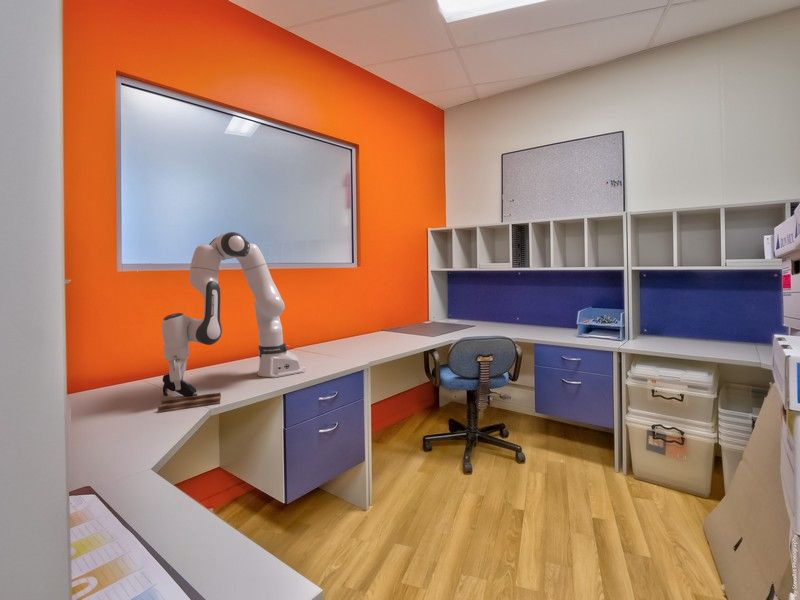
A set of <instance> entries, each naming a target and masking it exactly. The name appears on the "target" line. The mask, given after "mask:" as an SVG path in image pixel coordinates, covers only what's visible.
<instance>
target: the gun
mask: <svg viewBox="0 0 800 600" xmlns="http://www.w3.org/2000/svg"><path fill="white" fill-rule="evenodd" d="M162 382H163V387H162V394H163V396H164V397H168V396H169V394H168V390H169V391H171V392H176V393H178V394H180V395H181V396H182V397H183V398H184V397H191V396H198V393H197V389H196V387H195V386H193V385H192V384H190V383H189V382H188V381H186V380H184V379H183V380H182V379H181V381H180V384H181V389H180V390H176V389H175V384H174V382H170V375H169V373H167V374H164V375H163V377H162Z"/></svg>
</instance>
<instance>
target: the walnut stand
mask: <svg viewBox="0 0 800 600" xmlns="http://www.w3.org/2000/svg"><path fill="white" fill-rule="evenodd" d="M221 398H222V395H221V392H214V393H208V394H200V395H198V394H197V396H191V397H184V396H183V397H178V398H171V399H164V400H161V401H160V405H159V406H157V413H158V414H159V413H166V412H172V411H173V412H174V411H180V410H186V409H192V408H193V409H194V408H198V407H199V408H201V407H208V406H214V405H220V404H221V400H222V399H221Z"/></svg>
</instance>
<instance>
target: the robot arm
mask: <svg viewBox="0 0 800 600" xmlns="http://www.w3.org/2000/svg"><path fill="white" fill-rule="evenodd" d="M234 258H235V259H236V261H238V263H239V264H240V267H241V270H242V273H243V275H244V278H245V280H246V282H247V285H248V288H249V289H250V291H251V293H252V295H253V297H254V303H253V305H254V311H255V318H256V324H257V329H258V330H257V331H258V356H259V364H258V371H257V375H258V376H259V377H262V378H263V377H264V378H268V377H269V378H280V377H285V376H292V375H296V374H302V373H304V372H306V367H305V365H303V364H302V363H301V361H300V357H298V355H296V354H294V353H293V352H291V351H290V350H289V349H290V345H289V344H286V343H285V342H284V338H283V337H284V335H283V325H282V321H281V319H280V316H281V315H282V314H283V312H284V311H285V309H286V305H285V302H284V300H283V298H282V296H281V294H280V291H279V289H278V287H277V286H276V284H275V282H274V280H273V278H272V275H271V272H270V269H269V267H268V264H267V262H266V260H265V257H264V255H263V253H262V251H261V250H260V248H259V247H258V245H257V244H255V243H251V242H249V241H248V240H246V238H245V237H244V236H243V235H242V234H240V233H238V232H234V231H233V232H232V231H231V232H226V233H222V234H220V235H219V236H217V237H214V238H213V239H212V241H210V243H209V244H200V245H198V246H197V247H195V250H194V251H193V254H192V258H191V262H190V268H189V273H188V274H189V277H188V279H189V283H190V285H191V286H192V287H193V289H195V290H197V291H198V292H199V293H200V294H201V295H202V297H203V317H202V319H201V318H194V317H190V316H188V315H185V314H184V313H182V312H176V313H172V314H169V315H166V316H165V317H164V318H163V319H162V322H161V323H162V325H161V336H162V340H163V357H164V360H165V361H168V362H167V363H168V365H169V367H168V372H169V373H168V374H169V375H170V382H174V384H175V389H176V390H180V389H181V384H180V381H181V379H182V380H184V374H185V372H186V370H187V365H188V363H187V360H188V358H189V357H190V349H189V348H190V346H189V343H190V342H193V343H199V344H204V345H207V346H211V345H214V344H216V343H217V342H218V341H219V340H220V338H221V337H222V332H223V328H222V323H221V288H220V287H221V286H219V273H220V264H221V262H222V261H224V260H225V261H226V260H231V259H234Z"/></svg>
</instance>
